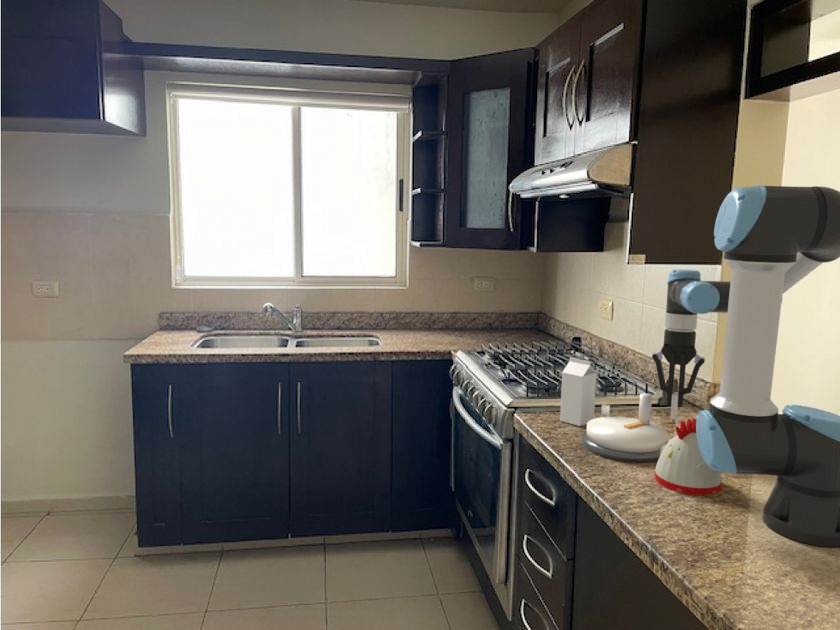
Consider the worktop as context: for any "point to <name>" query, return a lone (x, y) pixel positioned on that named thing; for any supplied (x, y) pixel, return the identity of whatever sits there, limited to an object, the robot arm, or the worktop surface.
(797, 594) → the worktop surface
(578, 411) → the milk carton
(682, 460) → the kitchen timer
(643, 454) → the dial base
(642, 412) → the dial
